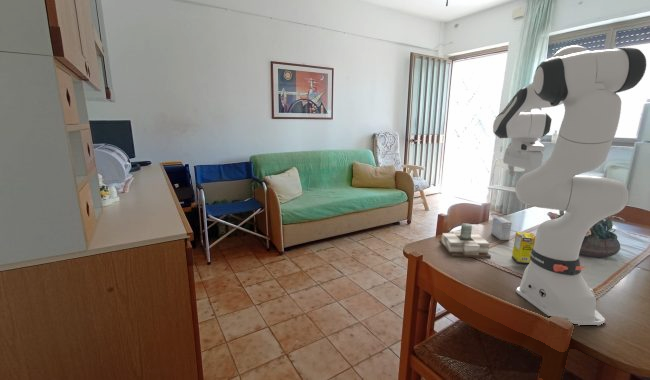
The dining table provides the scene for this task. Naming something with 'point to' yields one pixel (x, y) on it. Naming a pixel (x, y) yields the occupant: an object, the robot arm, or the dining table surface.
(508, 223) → the medicine box
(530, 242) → the supplement box
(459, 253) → the holder board
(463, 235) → the peg
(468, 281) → the dining table surface
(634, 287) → the dining table surface
